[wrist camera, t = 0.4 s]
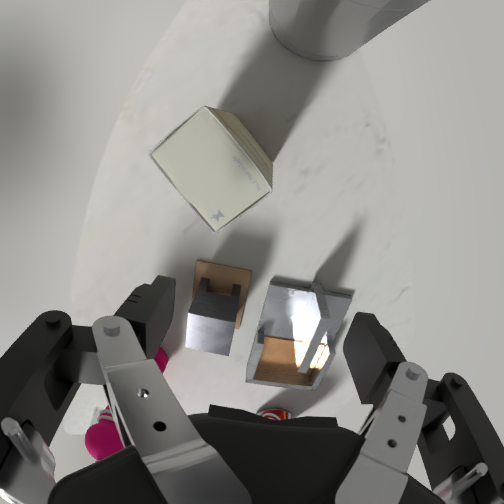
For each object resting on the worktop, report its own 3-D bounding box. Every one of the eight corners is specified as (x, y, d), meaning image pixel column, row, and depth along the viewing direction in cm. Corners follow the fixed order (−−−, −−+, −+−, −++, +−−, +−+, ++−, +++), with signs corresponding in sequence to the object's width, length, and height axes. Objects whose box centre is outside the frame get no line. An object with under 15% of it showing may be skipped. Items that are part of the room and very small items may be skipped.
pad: (197, 260, 31) (196, 261, 30) (251, 271, 31) (251, 272, 31) (190, 317, 34) (190, 319, 34) (239, 327, 34) (238, 329, 34)
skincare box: (273, 163, 26) (280, 193, 15) (236, 190, 27) (216, 239, 16) (232, 111, 24) (206, 101, 13) (195, 140, 25) (145, 154, 14)
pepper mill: (154, 331, 36) (98, 462, 18) (180, 367, 38) (144, 491, 20) (116, 339, 37) (57, 451, 19) (142, 373, 40) (100, 481, 22)
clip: (201, 277, 31) (188, 312, 25) (241, 285, 31) (235, 322, 25) (197, 309, 33) (185, 347, 27) (234, 316, 33) (228, 355, 27)
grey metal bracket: (272, 270, 31) (274, 310, 25) (354, 286, 31) (372, 324, 25) (246, 365, 37) (243, 406, 31) (313, 374, 38) (318, 413, 31)
